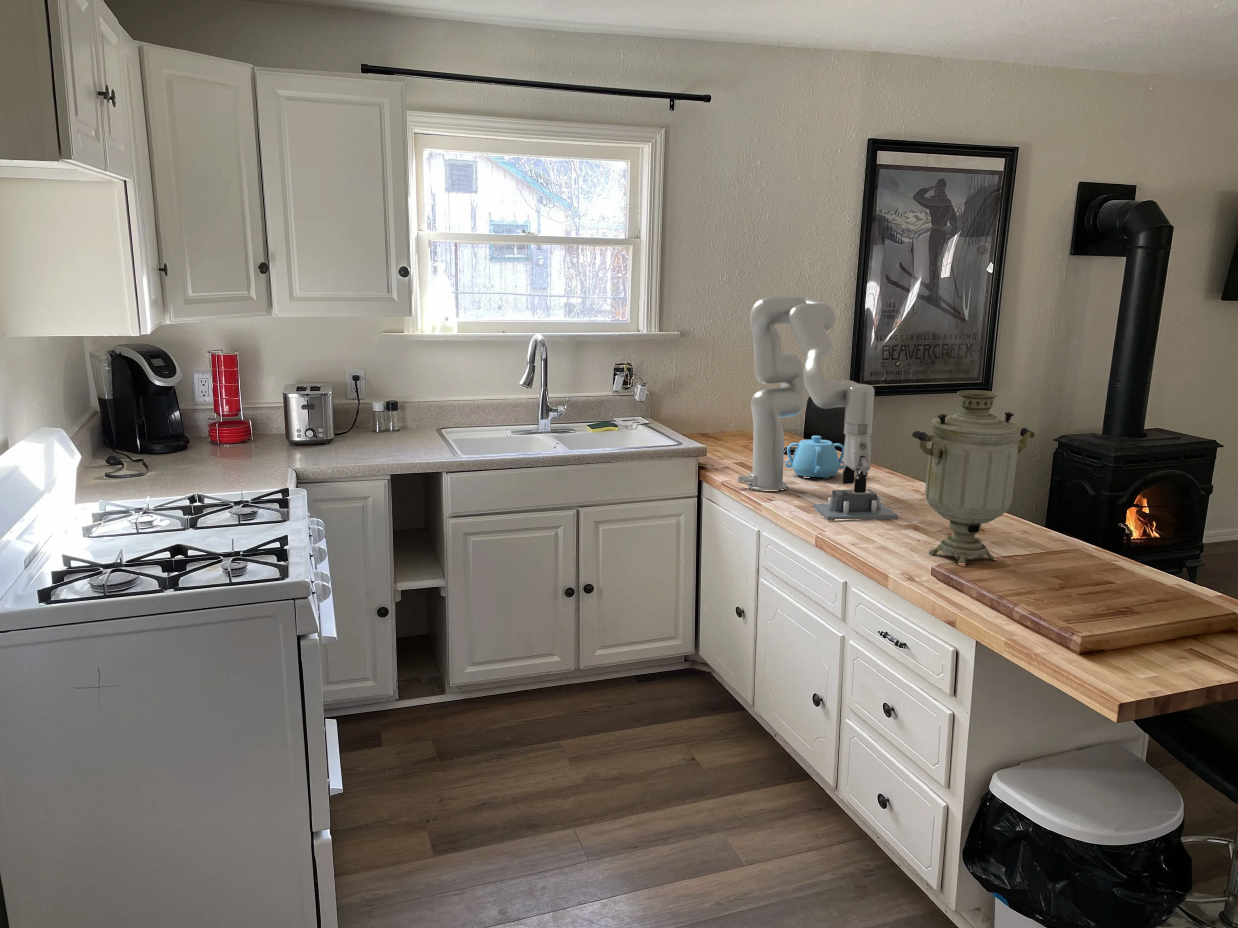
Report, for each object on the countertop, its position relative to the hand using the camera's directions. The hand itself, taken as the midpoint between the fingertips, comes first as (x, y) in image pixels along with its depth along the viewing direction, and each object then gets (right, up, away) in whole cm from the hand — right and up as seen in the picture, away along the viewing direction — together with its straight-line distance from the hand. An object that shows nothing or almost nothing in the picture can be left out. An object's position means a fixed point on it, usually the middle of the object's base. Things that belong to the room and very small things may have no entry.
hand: (853, 488), depth 259 cm
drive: (0, -6, +1) cm, 6 cm away
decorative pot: (-1, +3, +48) cm, 48 cm away
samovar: (+17, -15, -36) cm, 42 cm away
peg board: (0, -7, +1) cm, 7 cm away
